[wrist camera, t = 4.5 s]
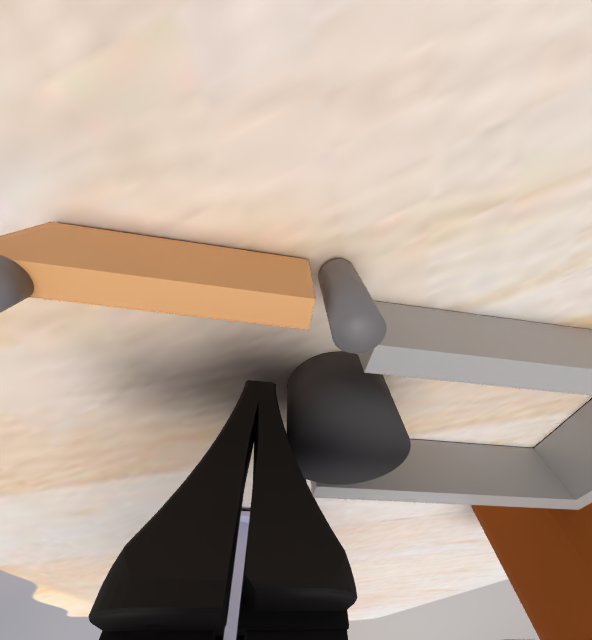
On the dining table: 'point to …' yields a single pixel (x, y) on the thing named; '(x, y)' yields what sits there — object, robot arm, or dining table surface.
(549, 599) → the grey and orange block
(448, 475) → the grey frame
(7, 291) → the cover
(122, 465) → the dining table surface
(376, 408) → the dark grey cylinder
